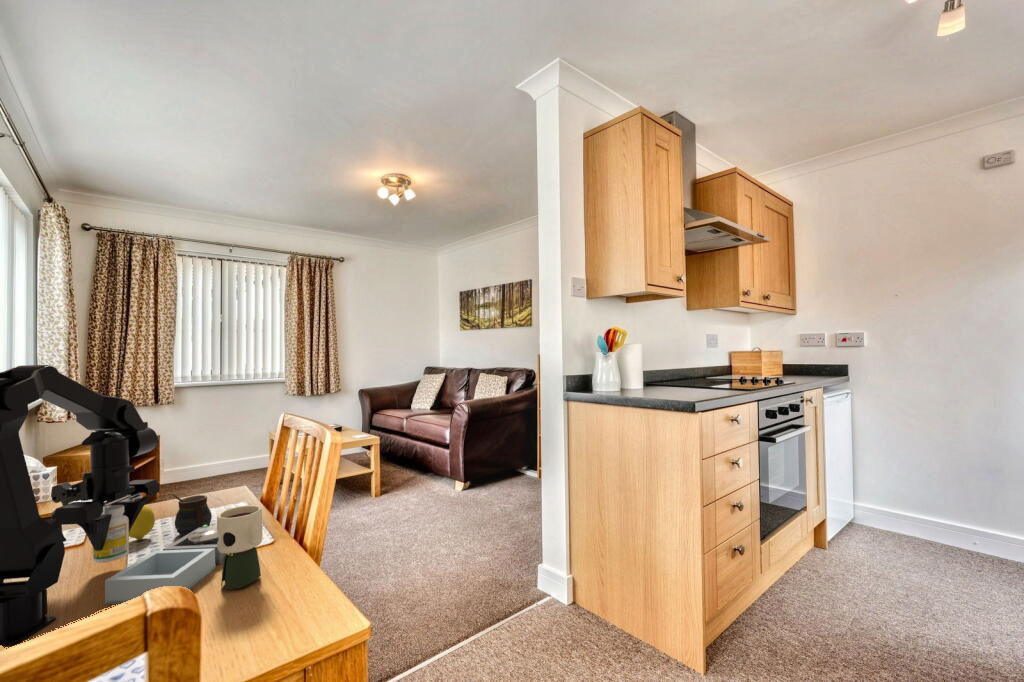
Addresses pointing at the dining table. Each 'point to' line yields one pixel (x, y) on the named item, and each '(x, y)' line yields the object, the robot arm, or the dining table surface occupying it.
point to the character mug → (240, 544)
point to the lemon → (143, 523)
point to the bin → (160, 573)
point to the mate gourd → (192, 514)
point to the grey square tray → (197, 547)
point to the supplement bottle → (114, 536)
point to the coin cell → (204, 535)
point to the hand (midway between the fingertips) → (111, 544)
